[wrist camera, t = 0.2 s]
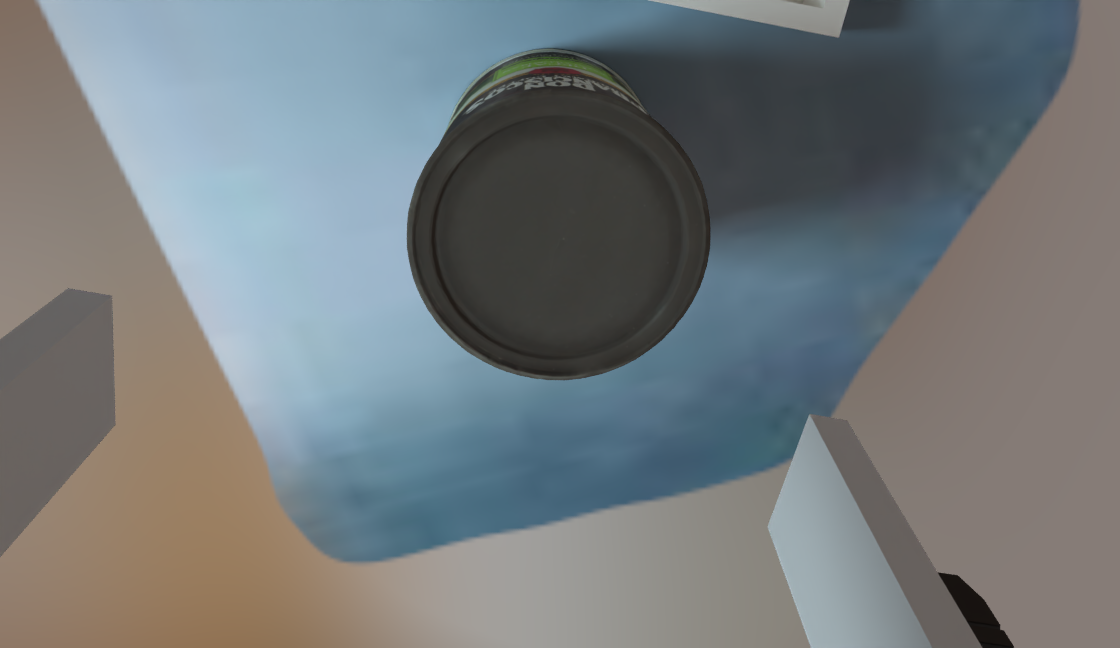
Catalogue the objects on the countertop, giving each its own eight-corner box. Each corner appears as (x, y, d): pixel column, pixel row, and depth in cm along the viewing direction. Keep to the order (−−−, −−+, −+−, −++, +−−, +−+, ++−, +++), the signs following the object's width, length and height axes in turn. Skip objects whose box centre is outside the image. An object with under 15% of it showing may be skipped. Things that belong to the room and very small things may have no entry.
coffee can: (438, 46, 40) (397, 87, 27) (659, 49, 40) (724, 90, 27) (446, 258, 44) (413, 382, 31) (647, 258, 44) (699, 381, 31)
